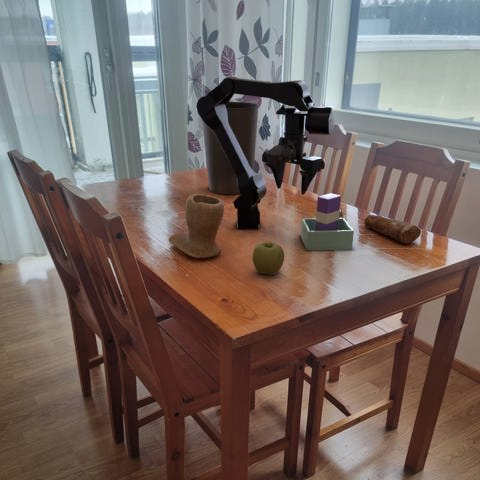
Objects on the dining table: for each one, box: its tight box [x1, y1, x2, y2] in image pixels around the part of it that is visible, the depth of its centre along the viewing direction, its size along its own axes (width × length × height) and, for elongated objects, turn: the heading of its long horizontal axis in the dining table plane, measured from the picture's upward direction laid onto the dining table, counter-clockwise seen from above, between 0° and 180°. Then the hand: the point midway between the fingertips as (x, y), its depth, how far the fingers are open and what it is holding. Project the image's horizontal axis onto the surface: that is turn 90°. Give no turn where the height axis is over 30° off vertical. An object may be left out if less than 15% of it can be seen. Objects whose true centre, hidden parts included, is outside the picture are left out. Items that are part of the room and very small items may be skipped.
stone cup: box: [168, 193, 225, 259], centre depth 123 cm, size 15×12×15 cm
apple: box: [251, 241, 285, 276], centre depth 113 cm, size 8×8×7 cm
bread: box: [363, 214, 422, 244], centre depth 136 cm, size 6×19×6 cm, turn 25°
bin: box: [300, 217, 355, 251], centre depth 131 cm, size 12×11×5 cm
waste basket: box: [201, 101, 260, 195], centre depth 176 cm, size 27×20×30 cm
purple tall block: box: [315, 192, 342, 231], centre depth 129 cm, size 4×5×12 cm, turn 132°
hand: (290, 191), depth 134 cm, fingers open, 9 cm apart
